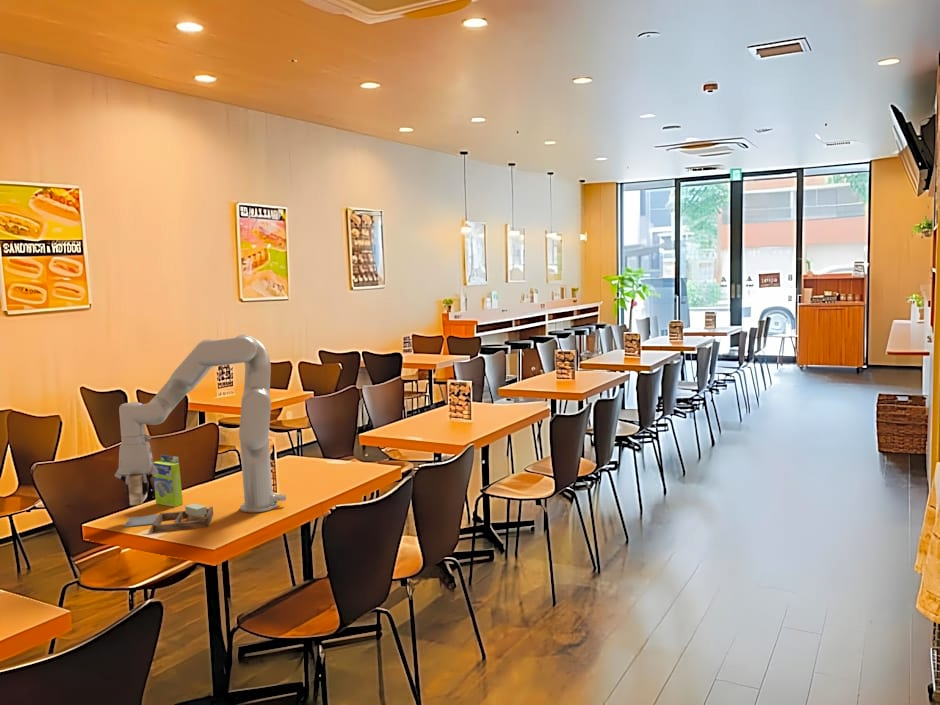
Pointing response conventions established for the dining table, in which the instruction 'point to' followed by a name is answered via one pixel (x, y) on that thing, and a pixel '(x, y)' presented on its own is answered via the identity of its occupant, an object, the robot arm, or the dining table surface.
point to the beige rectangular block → (136, 489)
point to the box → (168, 482)
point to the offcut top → (196, 510)
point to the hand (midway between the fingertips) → (138, 493)
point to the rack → (178, 524)
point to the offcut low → (195, 518)
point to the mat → (141, 521)
